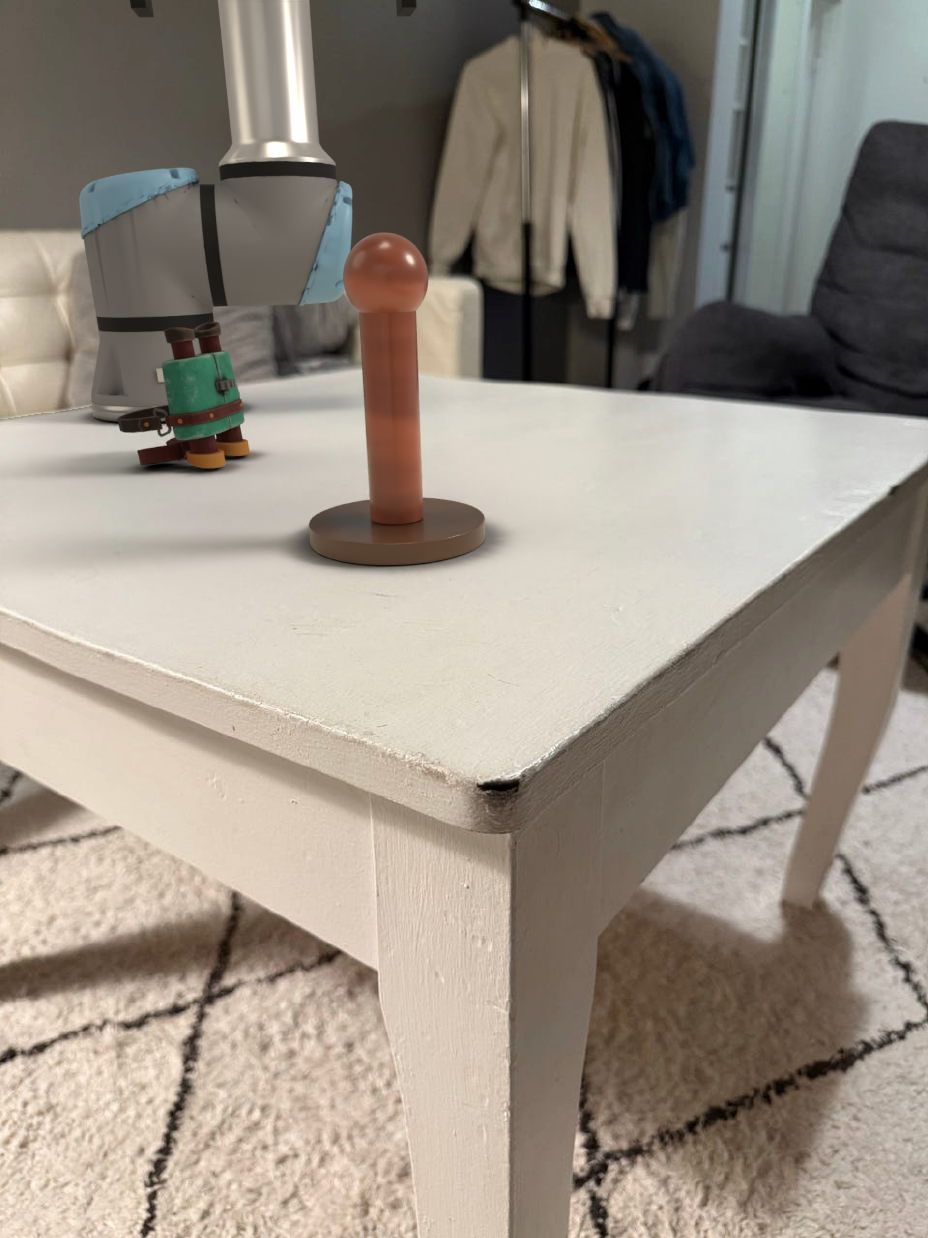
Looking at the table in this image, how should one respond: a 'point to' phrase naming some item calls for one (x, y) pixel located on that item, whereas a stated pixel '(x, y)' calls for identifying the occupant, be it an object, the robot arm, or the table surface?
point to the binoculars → (194, 403)
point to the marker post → (392, 424)
